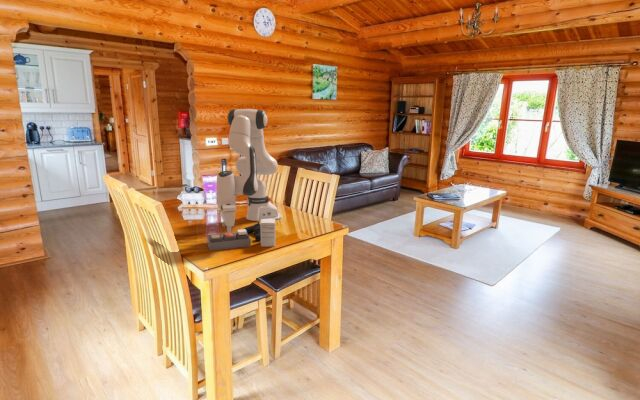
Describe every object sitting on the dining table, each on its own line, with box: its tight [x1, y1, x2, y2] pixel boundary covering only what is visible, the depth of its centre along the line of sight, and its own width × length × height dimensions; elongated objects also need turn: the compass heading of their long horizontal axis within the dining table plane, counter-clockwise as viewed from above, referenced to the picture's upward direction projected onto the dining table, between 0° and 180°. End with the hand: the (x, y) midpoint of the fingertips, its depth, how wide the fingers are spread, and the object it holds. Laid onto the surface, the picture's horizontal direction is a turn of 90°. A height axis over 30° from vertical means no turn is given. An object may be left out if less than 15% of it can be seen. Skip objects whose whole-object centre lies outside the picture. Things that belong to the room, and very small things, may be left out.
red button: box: [223, 232, 234, 237], centre depth 185 cm, size 4×4×2 cm
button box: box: [206, 231, 252, 252], centre depth 188 cm, size 20×12×6 cm, turn 113°
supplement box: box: [259, 219, 276, 248], centre depth 189 cm, size 7×7×13 cm
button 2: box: [236, 228, 247, 235], centre depth 187 cm, size 4×4×2 cm
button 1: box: [210, 234, 220, 239], centre depth 183 cm, size 4×4×2 cm
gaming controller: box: [243, 221, 261, 242], centre depth 202 cm, size 17×6×10 cm
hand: (227, 229), depth 189 cm, fingers open, 8 cm apart
